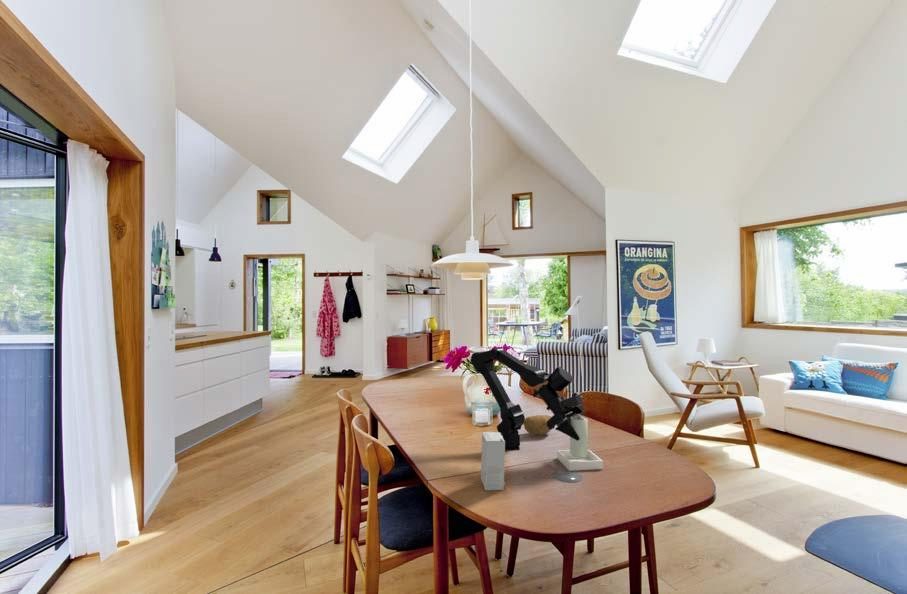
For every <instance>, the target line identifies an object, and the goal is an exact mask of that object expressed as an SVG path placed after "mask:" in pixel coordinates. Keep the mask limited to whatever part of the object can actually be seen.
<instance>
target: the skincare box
mask: <svg viewBox="0 0 907 594" xmlns="http://www.w3.org/2000/svg"><path fill="white" fill-rule="evenodd" d="M505 454H506V450H505V441H504V439H503V436H502V435H501V434H500V432H498V431H493V432H492V431H490V432H489V431H488V432H487V431H483V432H481V460H480V461H481V465H480V466H481V467H480V480H481V482H482V484H483V488H484V491H505V463H506V462H505V460H506V459H505V457H506V455H505Z"/></svg>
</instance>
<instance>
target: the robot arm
mask: <svg viewBox="0 0 907 594" xmlns="http://www.w3.org/2000/svg"><path fill="white" fill-rule="evenodd" d="M469 360H470V363H471V365H472V367H473V368H474V370H475V371H477V372H478V373H479V374H480V375H482V377H483V379H484V380H485V382H486V384H487V386H488V388H489V390H490V392H491V394H492V395H493V397H494V399H495V401H496V403H497V404H498V407H499V411H500V412H499V414H500V415H499V416H500V419H501V422H499V424H497V426H496V429H497V432H500V434H501V435H502V436H503V439H504V441H505V451H510V450H511V451H513V450H520V449H521V448H520V446H521V435H520V433H519V431H520V430H521V429H522V427H523V426H524V420H525V418H526V417H525V412H524V411H523V410H522V407H521V406H520V404H515V403H513V402H512V400H511V399H510V397H509V395H508V393H507V391H506V389H505V388H504V386H503V384H502V382H501V381H500V378H499V377H498V375H497V373H496V372H495V369H494V368H495V366H494V364H495V363H494V361H495V360H496V361H497V362H499V363H501V364H503V366H505V367H507V368H509V369H510V370H512V371H513V372H515V373H516V374H517V375H519V377H520V378H521V380H522V381H523V382H524V383H525V384H526V385H527V386H529V387H531V388H533V387H534V389H533V396H532V398H537V397H539V396H540V398H541V400H542V401H543V402H544V403H545V404H546V408H545V409H546V410H547V411H551V413H552V414H553V415H552V416H551V418H550V419H549V420H548V421H547V427H548V428H549V430H550V431H551V430H555V431H558V432H559V433H560V432H561V433H563V434H565V435H566V436H568V437H572V438H573V439H575V440H577V441H578V440H579V439H580V438H579V436H578V434H577V433H576V431H575V430H574V428H573V427H572V425H571V419H570V418H571V417H574V416H577V414H580V415H581V416H582V417H583V413H584V411H586V408H585V406H584V405H583V404H584V402H583V399H584V396H583V395H581V393H579V392H578V391H576V392H574V393H572V394H571V397H569V398H566V396H565V395H562V396H561V395H560V394H559V392H561V393H562V392H563V391H564V390H565V389H566V388H567V387H569V385H570V384H571V383H573V382H574V378H573V376H572V374H571V373H570V372H568V371H567V370H566V369H564V368H562V367H561V366H557V367H556V368H555V369H554V370H553V372H551V373H548V372H546V371H545V370H543V369H542V368H540V367H536V366H533V365H529V364H527V363H525V362H523V361H522V360H520V359H519V358H517V356H516V357H515V356H514V355H513V354H510V353H509V352H508V351H506V350H505V349H504V348H503V347H494V348H491V349H489V350H486V351H485V350H484V351H477V352H474V353H472V354H471V356H470V359H469ZM538 386H540V387H538ZM535 387H538V388H535ZM556 426H557V427H556Z"/></svg>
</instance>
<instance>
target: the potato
mask: <svg viewBox="0 0 907 594" xmlns="http://www.w3.org/2000/svg"><path fill="white" fill-rule="evenodd" d="M551 417H552V416H551V415H548V414H541V415H539V414H538V415H530V416H527V417H525V420H524V424H523V427H524V430H525V431H526V432H527V433H528V434H531V435H533V436H537V437H538V436H540V437H542V436H545V435H546V434H548V433H549V432H550V431H551V430H549V428H548V427H547V421H548V420H549V419H550V418H551Z"/></svg>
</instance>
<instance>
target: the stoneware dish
mask: <svg viewBox="0 0 907 594" xmlns="http://www.w3.org/2000/svg"><path fill="white" fill-rule="evenodd" d="M556 458H557V459H558V461H559V462H560V464H562V465H563V466H564V467H565V468H566V469H567V470H568V471H569V472H574V471H589V470H590V471H592V470H593V471H594V470H604V460H603V459H602V458H600V457H599V456H598V455H596V454H595V453H594V452H593V451H591V450H590V449H588V456H587V457H584V458H578V457H574V456H572V455H570V449H560V450H556Z"/></svg>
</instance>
